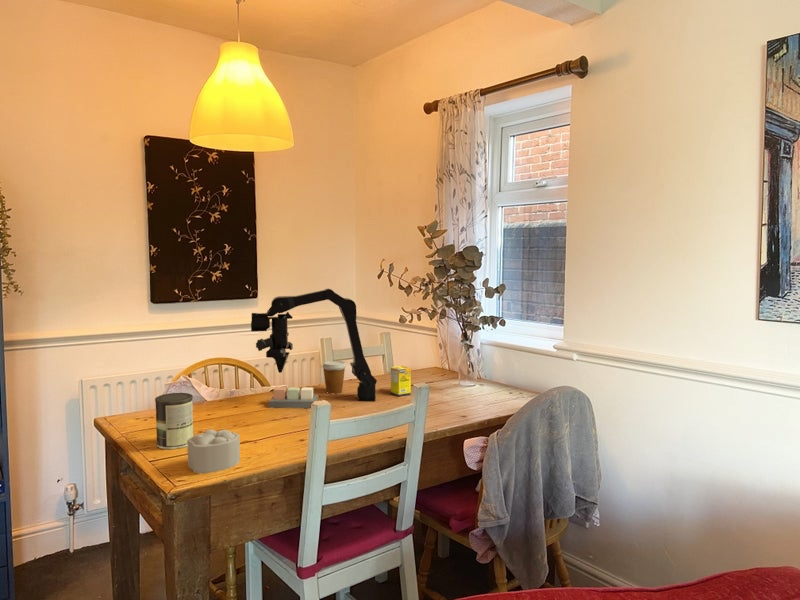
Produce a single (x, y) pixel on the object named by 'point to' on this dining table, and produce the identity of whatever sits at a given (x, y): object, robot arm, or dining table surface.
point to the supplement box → (400, 380)
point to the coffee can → (174, 420)
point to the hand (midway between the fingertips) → (280, 372)
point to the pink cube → (280, 393)
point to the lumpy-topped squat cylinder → (213, 451)
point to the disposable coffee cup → (334, 376)
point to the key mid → (293, 393)
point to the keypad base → (291, 403)
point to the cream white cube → (306, 393)
